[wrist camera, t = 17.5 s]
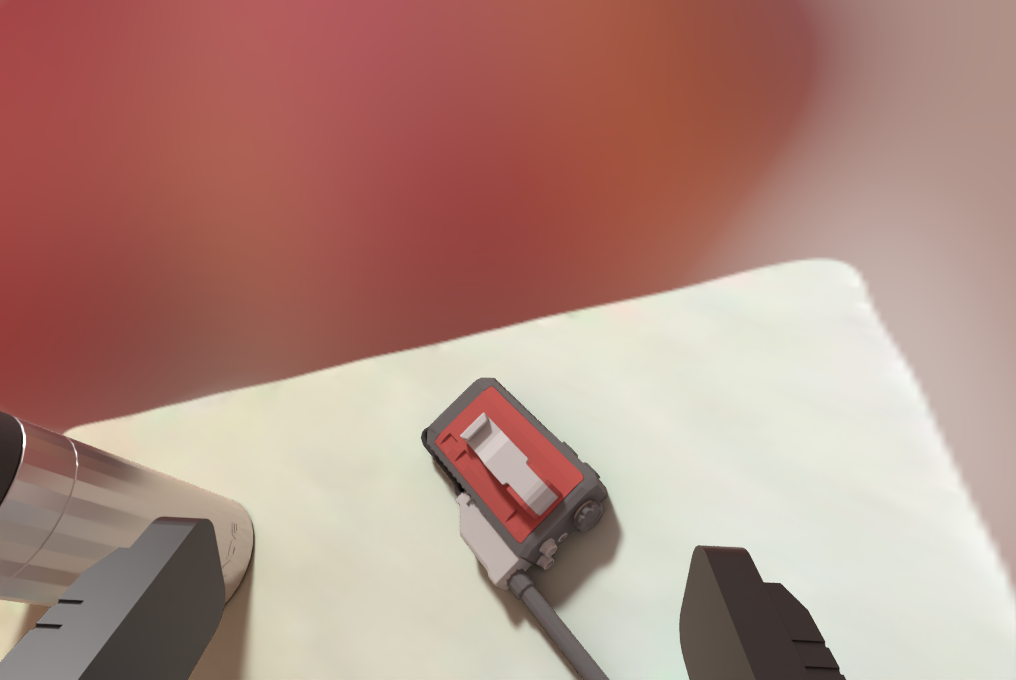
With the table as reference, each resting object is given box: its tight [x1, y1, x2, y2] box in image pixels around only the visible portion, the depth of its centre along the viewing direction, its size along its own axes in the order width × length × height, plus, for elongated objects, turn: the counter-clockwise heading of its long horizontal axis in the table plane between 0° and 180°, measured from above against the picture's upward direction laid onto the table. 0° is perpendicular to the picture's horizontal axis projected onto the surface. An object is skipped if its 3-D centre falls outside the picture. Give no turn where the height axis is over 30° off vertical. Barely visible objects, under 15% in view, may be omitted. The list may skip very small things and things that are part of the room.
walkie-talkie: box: [421, 378, 609, 680], centre depth 36 cm, size 9×4×20 cm
